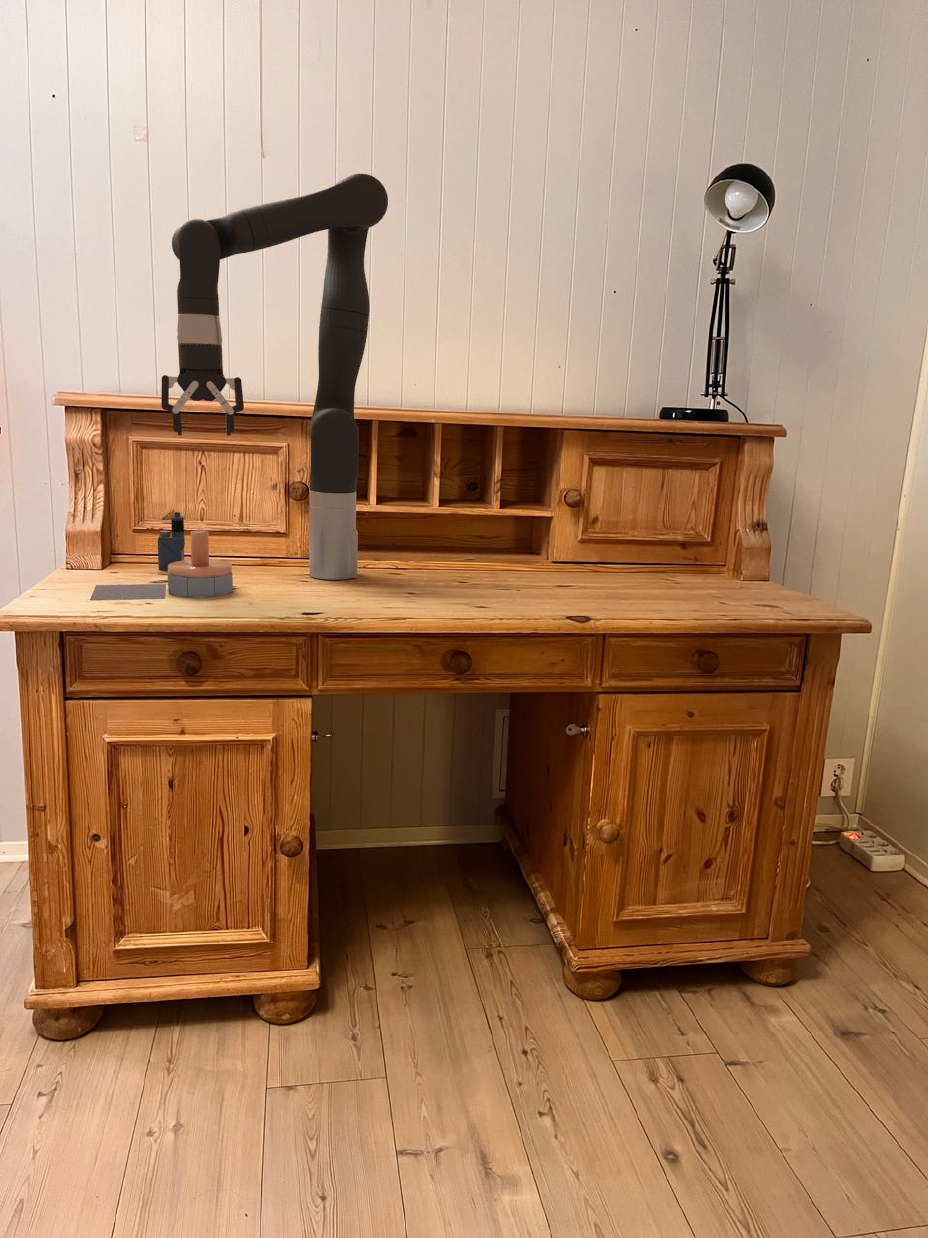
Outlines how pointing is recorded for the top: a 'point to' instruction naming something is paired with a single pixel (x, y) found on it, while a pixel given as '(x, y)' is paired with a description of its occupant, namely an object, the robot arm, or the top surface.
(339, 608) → the top surface
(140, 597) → the mat
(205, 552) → the lid
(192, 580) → the bowl
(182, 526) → the vaping device
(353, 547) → the robot arm
